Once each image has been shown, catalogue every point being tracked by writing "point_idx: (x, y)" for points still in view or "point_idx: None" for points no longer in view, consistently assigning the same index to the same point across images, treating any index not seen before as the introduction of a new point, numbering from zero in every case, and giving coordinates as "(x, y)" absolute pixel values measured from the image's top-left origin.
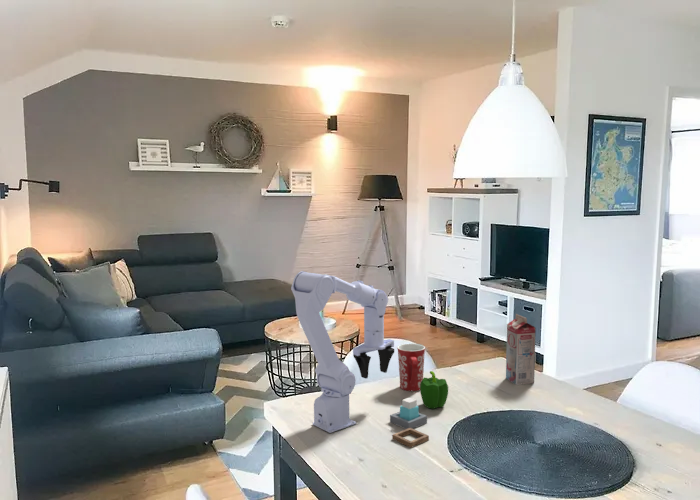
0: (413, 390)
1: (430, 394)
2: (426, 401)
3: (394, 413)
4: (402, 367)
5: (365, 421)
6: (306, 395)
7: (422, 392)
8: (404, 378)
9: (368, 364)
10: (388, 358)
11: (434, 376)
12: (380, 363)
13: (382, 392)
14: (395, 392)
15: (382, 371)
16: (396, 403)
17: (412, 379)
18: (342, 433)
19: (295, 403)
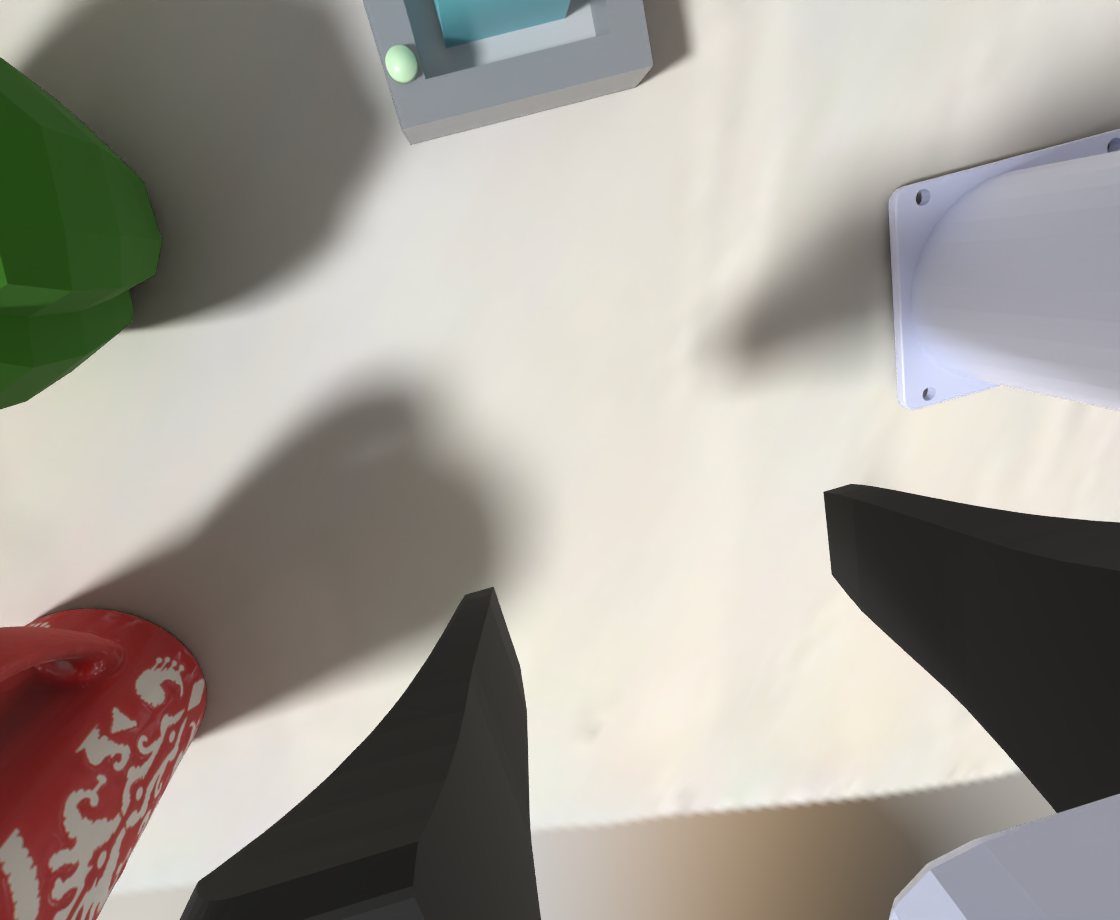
0: (117, 615)
1: (18, 81)
2: (127, 169)
3: (594, 79)
4: (80, 846)
5: (796, 212)
6: (861, 784)
7: (106, 209)
8: (136, 728)
9: (1034, 544)
10: (435, 731)
11: None
12: (524, 760)
13: (386, 678)
14: (286, 645)
15: (508, 638)
16: (384, 440)
17: (68, 636)
18: (1065, 82)
19: None
